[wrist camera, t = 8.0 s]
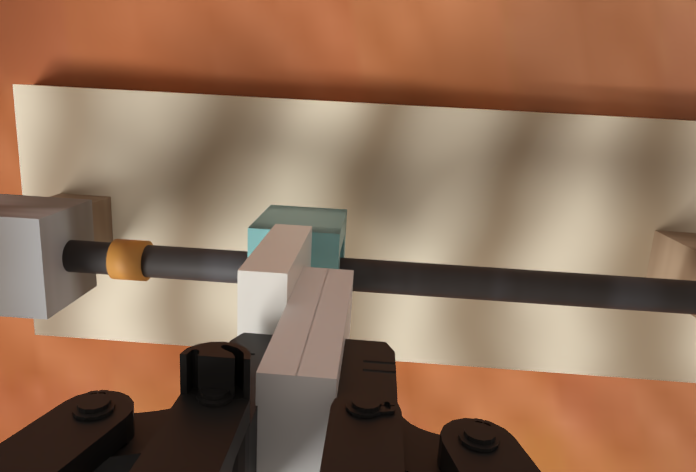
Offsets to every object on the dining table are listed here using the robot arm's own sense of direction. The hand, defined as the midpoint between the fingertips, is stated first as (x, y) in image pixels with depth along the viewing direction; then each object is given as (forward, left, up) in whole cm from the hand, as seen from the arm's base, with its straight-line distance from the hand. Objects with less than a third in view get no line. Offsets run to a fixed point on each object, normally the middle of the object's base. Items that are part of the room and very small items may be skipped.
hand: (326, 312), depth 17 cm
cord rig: (-1, 0, -11) cm, 11 cm away
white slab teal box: (+1, 0, -6) cm, 6 cm away
